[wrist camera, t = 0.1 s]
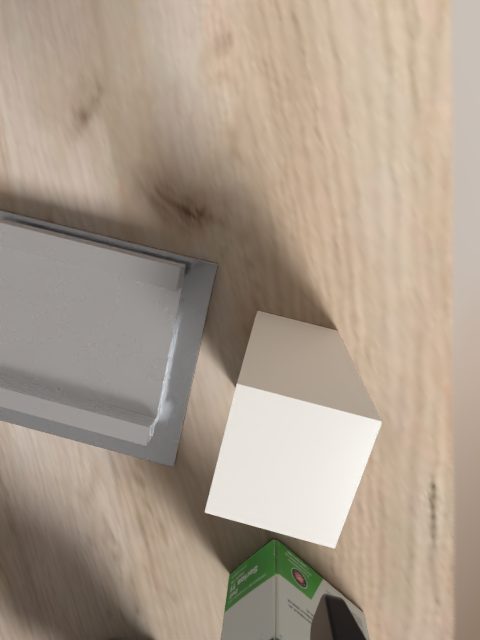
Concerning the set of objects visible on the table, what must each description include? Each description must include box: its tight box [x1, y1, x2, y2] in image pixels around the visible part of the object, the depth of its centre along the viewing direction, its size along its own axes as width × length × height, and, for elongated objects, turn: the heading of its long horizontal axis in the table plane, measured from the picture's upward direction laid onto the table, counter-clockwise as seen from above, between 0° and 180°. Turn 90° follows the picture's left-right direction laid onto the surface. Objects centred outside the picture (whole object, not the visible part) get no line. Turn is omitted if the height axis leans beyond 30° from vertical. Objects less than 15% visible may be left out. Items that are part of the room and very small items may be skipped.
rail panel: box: [0, 210, 218, 467], centre depth 22 cm, size 13×14×2 cm
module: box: [205, 310, 382, 549], centre depth 18 cm, size 5×5×10 cm
